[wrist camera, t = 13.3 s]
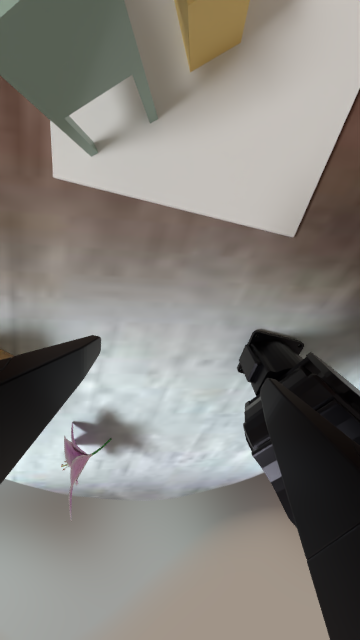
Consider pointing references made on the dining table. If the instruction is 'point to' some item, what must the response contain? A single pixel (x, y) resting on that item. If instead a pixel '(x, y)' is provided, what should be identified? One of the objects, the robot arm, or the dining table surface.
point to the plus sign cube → (210, 27)
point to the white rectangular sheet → (225, 115)
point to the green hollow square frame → (69, 56)
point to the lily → (75, 461)
